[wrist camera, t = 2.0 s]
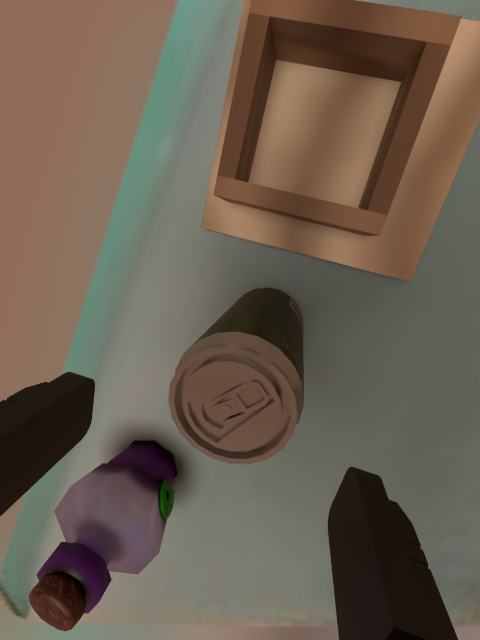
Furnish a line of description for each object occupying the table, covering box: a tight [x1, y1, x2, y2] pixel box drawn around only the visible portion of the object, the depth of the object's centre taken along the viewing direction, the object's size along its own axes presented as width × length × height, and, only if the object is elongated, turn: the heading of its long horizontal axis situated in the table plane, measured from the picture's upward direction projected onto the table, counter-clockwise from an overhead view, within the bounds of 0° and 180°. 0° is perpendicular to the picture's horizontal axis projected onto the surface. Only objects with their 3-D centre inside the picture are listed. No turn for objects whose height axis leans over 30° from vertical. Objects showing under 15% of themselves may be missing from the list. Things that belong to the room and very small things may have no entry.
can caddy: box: [201, 0, 480, 282], centre depth 16 cm, size 14×13×5 cm
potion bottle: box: [29, 441, 178, 631], centre depth 23 cm, size 9×9×12 cm
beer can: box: [169, 288, 304, 464], centre depth 17 cm, size 5×5×12 cm
